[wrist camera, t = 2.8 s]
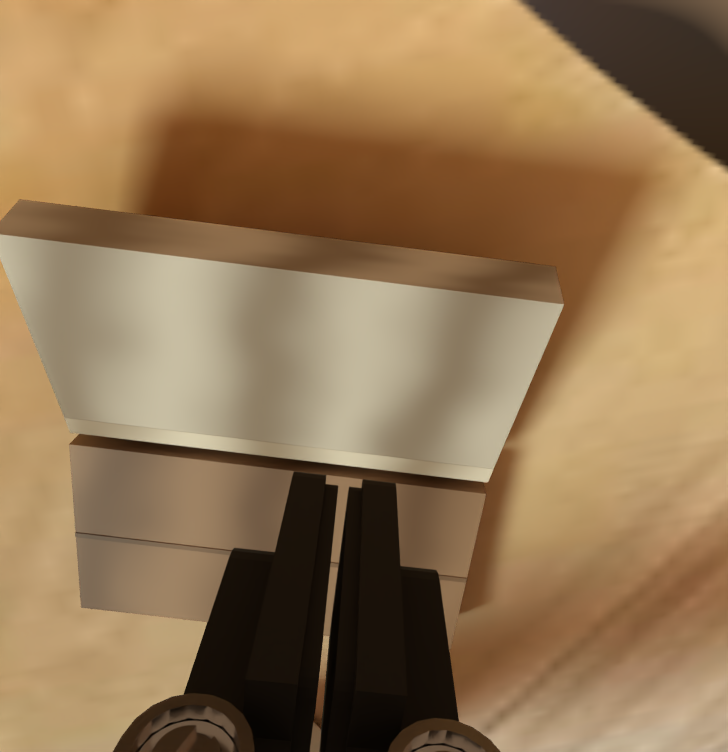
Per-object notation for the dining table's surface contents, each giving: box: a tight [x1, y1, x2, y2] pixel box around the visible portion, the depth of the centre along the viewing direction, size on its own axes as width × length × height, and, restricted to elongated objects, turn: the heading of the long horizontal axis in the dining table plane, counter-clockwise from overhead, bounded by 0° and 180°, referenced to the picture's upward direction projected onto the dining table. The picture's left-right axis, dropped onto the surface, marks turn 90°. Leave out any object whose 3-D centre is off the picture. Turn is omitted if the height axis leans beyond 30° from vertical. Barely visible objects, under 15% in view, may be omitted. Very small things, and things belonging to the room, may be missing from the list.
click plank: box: [0, 199, 564, 482], centre depth 24 cm, size 18×10×2 cm, turn 83°
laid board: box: [69, 434, 486, 650], centre depth 29 cm, size 18×9×2 cm, turn 83°
